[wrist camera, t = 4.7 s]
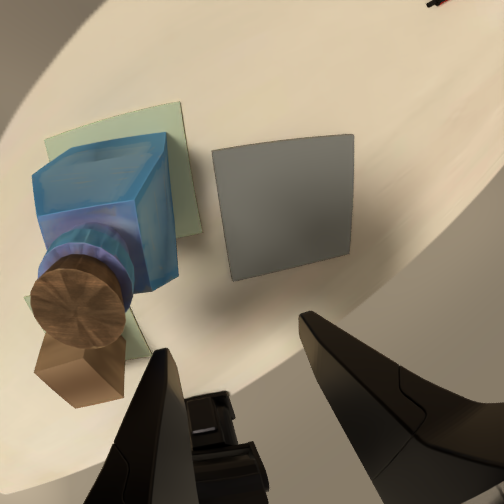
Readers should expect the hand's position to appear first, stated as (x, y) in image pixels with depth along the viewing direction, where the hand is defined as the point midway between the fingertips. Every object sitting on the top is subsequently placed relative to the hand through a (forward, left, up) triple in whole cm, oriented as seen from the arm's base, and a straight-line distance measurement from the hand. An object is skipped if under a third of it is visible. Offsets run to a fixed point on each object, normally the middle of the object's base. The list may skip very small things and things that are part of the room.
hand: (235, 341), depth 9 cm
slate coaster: (-2, -6, -13) cm, 15 cm away
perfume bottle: (+2, +4, -13) cm, 14 cm away
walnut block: (-9, +12, -13) cm, 20 cm away
